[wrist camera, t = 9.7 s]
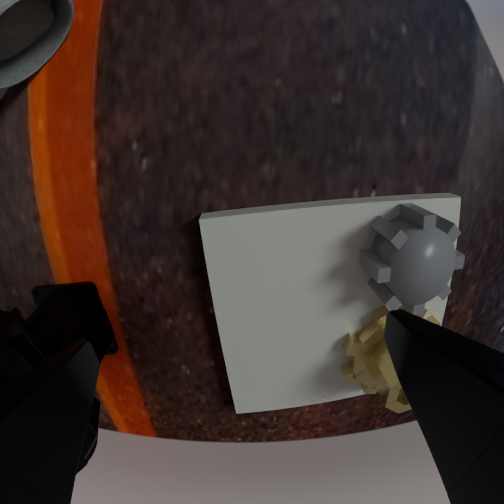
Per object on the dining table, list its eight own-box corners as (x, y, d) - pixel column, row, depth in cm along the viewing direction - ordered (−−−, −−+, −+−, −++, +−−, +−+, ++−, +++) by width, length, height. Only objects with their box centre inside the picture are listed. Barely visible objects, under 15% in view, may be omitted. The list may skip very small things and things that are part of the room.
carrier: (236, 401, 25) (236, 442, 21) (201, 213, 19) (191, 236, 15) (419, 367, 25) (440, 398, 21) (449, 192, 19) (489, 208, 15)
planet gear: (337, 391, 23) (353, 438, 19) (344, 310, 20) (370, 358, 16) (421, 370, 24) (446, 408, 19) (441, 292, 20) (478, 327, 16)
